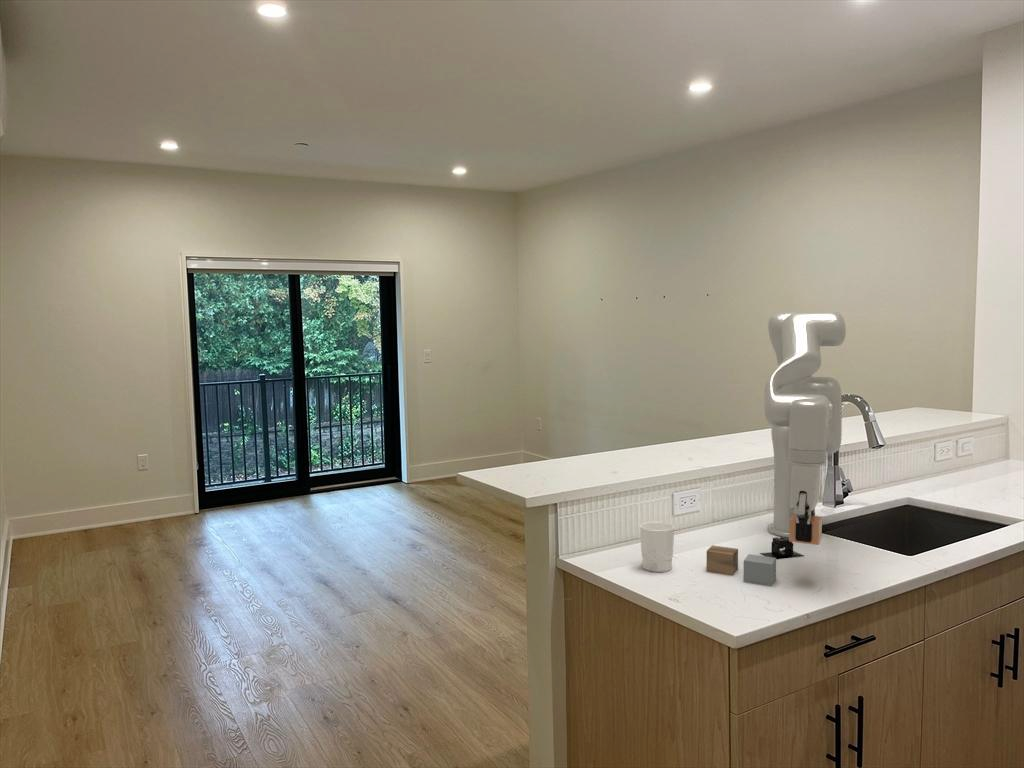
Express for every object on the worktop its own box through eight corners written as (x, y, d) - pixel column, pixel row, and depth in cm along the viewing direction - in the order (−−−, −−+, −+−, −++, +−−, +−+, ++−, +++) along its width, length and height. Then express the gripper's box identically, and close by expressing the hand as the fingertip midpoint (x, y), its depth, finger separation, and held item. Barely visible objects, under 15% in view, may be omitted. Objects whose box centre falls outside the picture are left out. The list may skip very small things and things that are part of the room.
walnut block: (712, 565, 175) (712, 545, 175) (738, 569, 172) (738, 548, 172) (706, 572, 171) (706, 551, 170) (732, 576, 168) (732, 554, 167)
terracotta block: (792, 535, 166) (793, 513, 165) (821, 538, 163) (822, 516, 163) (789, 541, 162) (789, 519, 161) (818, 545, 159) (818, 522, 158)
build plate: (794, 550, 188) (794, 532, 187) (813, 558, 181) (813, 540, 180) (751, 555, 184) (752, 537, 184) (769, 564, 177) (770, 545, 177)
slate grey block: (748, 575, 168) (748, 554, 168) (776, 579, 165) (776, 557, 165) (743, 582, 164) (743, 560, 163) (771, 586, 161) (771, 564, 160)
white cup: (669, 561, 178) (669, 521, 177) (677, 572, 170) (678, 530, 169) (637, 562, 178) (637, 522, 177) (644, 573, 170) (644, 531, 169)
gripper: (795, 447, 170) (793, 524, 172) (782, 462, 155) (780, 546, 157) (830, 450, 166) (828, 529, 168) (820, 465, 151) (818, 551, 153)
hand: (805, 536), depth 162 cm, fingers closed on terracotta block, 5 cm apart
